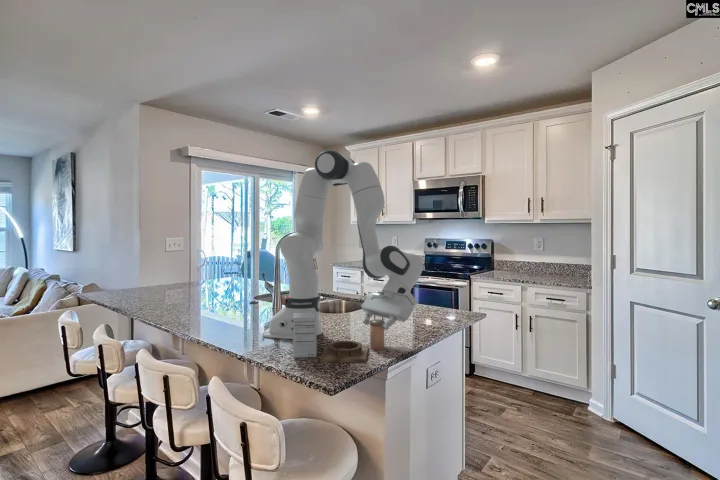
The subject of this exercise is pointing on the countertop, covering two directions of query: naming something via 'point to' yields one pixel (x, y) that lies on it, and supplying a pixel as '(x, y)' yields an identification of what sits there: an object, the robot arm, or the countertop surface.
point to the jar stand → (345, 352)
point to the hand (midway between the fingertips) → (374, 326)
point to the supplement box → (304, 335)
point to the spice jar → (376, 335)
